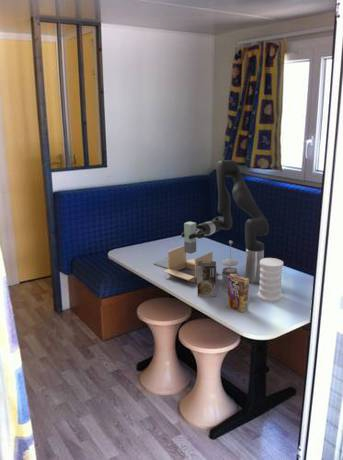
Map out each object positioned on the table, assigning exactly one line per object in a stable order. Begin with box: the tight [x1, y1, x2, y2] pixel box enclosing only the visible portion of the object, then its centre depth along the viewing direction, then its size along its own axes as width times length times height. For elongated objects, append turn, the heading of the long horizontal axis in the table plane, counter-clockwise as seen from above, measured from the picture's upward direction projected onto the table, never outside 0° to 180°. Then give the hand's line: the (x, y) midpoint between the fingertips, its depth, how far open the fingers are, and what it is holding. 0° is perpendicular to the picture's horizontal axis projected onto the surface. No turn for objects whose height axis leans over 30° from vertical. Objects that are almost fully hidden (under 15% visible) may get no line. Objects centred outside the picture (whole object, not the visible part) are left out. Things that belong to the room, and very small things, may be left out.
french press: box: [219, 240, 239, 293], centre depth 221 cm, size 10×12×25 cm
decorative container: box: [256, 257, 284, 303], centre depth 212 cm, size 12×12×18 cm
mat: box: [152, 257, 168, 270], centre depth 258 cm, size 12×12×1 cm
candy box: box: [226, 274, 250, 313], centre depth 201 cm, size 9×4×15 cm, turn 47°
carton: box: [162, 245, 218, 284], centre depth 240 cm, size 19×24×13 cm
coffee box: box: [196, 260, 217, 298], centre depth 216 cm, size 9×6×16 cm
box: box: [183, 221, 197, 255], centre depth 236 cm, size 4×4×16 cm
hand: (185, 236), depth 233 cm, fingers closed on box, 4 cm apart
